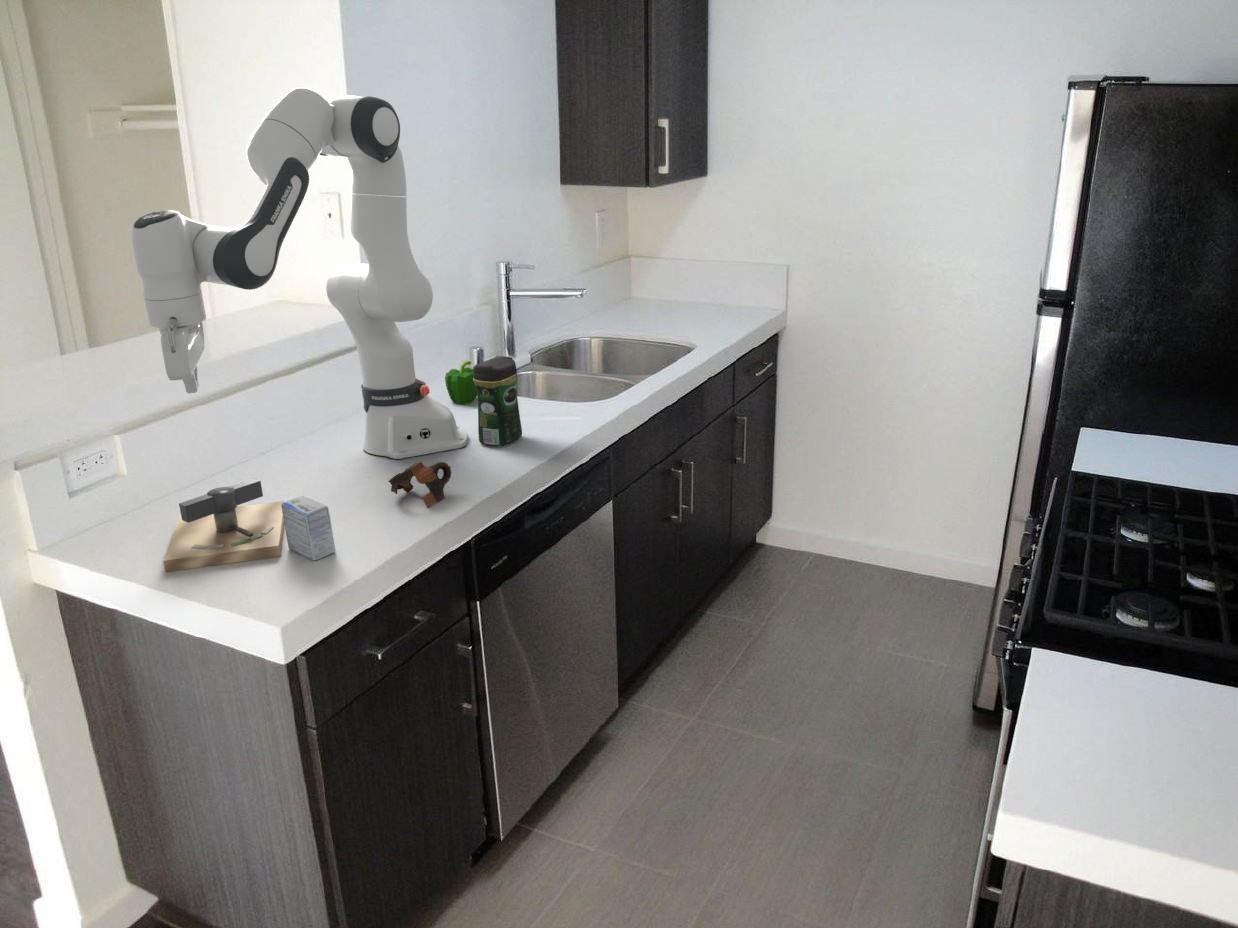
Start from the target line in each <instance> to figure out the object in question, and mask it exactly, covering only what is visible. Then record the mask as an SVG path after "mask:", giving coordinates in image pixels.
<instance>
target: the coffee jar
mask: <svg viewBox="0 0 1238 928" xmlns="http://www.w3.org/2000/svg"><path fill="white" fill-rule="evenodd" d="M472 369H473V380H474V383H475V386H476V390H477V397H476V399H477V417H478V418H477V420H478V421H477V423H478V425H477V428H478V429H477V430H478V433H477V434H478V442H479V443H480V444H482V445H483V446H485V447H490V448H494V447H500V448H501V447H506V446H509V445H511V444H513V443H515V442H516V441H518V440H520V439H521V438H522V436H523V428H522V422H521V416H520V409H519V401H518V391H517V379H518V369H517V365H516V361H515V360H514V359H513V358H512V357H511V356H504V355H496V356H495V357H492V358H489V359H487V360H485V361H483V362H479V363H476V364H475V365H474V366H473V367H472Z"/></svg>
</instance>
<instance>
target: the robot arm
mask: <svg viewBox="0 0 1238 928" xmlns="http://www.w3.org/2000/svg"><path fill="white" fill-rule="evenodd" d="M400 125H401V124H400V119H399V117H398V115H397V112H396V110H395V108H394V107H393V106H392V104H391V103H389V102H388V101H387V100H384V99H382V98H379V97H375V96H364V97H363V96H357V95H341V96H337V97H336V96H335V97H329V98H325V97H324V96H323V95H322V94H321V93H319V92H318V91H316V90H314V89H312V88H308V87H303V86H301V87H294V88H293V89H291V90H290V91H288V92H287V93H286V94H284V96H282V97H281V98H280V99H278V101H277V102H276V103H275V104H274V105H273V107H271V109H270V110H269V111H268V112H267V113H266V114H265V116H264V117H263V119H262V120H261V121H260V123H259V124H258V125H257V127H256V128H255V130H254V131H253V132H252V133H251V136H250V138H249V140H248V143H247V146H246V149H245V153H246V154H245V155H246V159H247V162H248V166H249V167H250V170H251V171H252V172H253V174H254V175H255V176H256V177H257V178H258V179H259V180H260V181H261V182H262V183H263V184H264V185H266V187H265V189H264V192H263V193H262V195H261V197H260V199H259V201H258V203H257V205H256V207H255V209H254V211H253V212H252V215H251V217H250V219H248V220H247V221H246V222H244V223H242V224H239V225H237V226H233V227H232V226H221V225H210V224H208V223H203V222H199V221H195V220H194V219H191V218H189V217H186V216H184V215H183V214H181V213H180V212H179V211H178V210H172V209H166V210H165V209H164V210H160V211H159V210H158V211H153V212H149V213H147V214H145V215H142V216H140V217H138V219H137V220H136V221H135V222H134V224H133V225H132V226H133V227H132V231H131V232H132V235H131V237H132V248H133V254H134V258H135V264H136V265H135V266H136V268H137V272H138V274H139V276H140V278H141V280H142V284H143V301H144V303H145V309H146V314H147V317H148V318H147V319H148V322H149V325H150V327H152V328H156V329H157V328H158V329H159V334H160V345H161V352H162V357H163V363H164V366H165V372H166V376H167V378H168V380H169V381H182V382H183V384H184V388H185V392H186V393H187V394H195V393H197V392H198V390H199V388H200V383H199V382H200V381H199V377H198V376H199V375H198V363H199V361H200V359H201V357H202V354H203V352H204V350H205V336H204V334H205V333H204V326H203V325H204V324H203V322H204V321H206V319H207V315H206V310H205V304H204V300H203V295H202V290H201V284H202V283H212V284H217V285H225V286H226V285H227V286H231V287H235V288H239V289H243V290H246V291H247V290H249V291H250V290H256V289H259V288H261V287H263V286H264V285H265V284H267V283H268V281H270V279H271V278H272V276H273V275H274V272H275V270H276V267H277V265H278V259H279V256H280V252H281V247H282V245H283V243H284V240H285V238H286V236H287V234H288V232H289V230H290V228H291V226H292V224H293V222H294V219H295V218H296V216H297V213H298V212H299V210H300V207H301V205H302V203H303V201H304V198H305V197H306V194H307V191H308V189H309V185H310V184H309V183H310V175H309V173H310V171H311V168H312V167H313V165H314V163H315V162H316V161H317V159H318V157H320V156H322V157H323V156H324V157H326V156H331V157H337V158H338V157H339V158H347V160H348V162H349V164H350V169H351V171H350V172H351V173H350V188H349V189H350V190H349V191H350V198H349V199H350V200H349V201H350V204H349V205H350V232H351V235H352V237H353V239H355V241H356V242H358V243H359V245H360V246H361V248H362V249H363V252H364V254H365V257H366V260H367V263H360V262H356V263H349V264H344V265H341V266H338V267H336V268H335V269H333V270H332V272H331V273H330V274H329V276H328V279H327V281H326V294H327V296H326V297H327V299H328V301H329V302H330V304H331V305H332V306H333V307H334V308H335V309H336V310H337V311H338V312H339V314H340V315H341V316H342V318H343V319H344V321H345V323H346V325H347V327H348V329H349V332H350V334H351V335H352V338H353V340H354V341H353V342H354V343H355V346H356V349H357V350H356V351H357V353H358V357H359V358H358V359H359V366H360V371H361V380H362V384H361V386H360V388H361V390H360V391H361V400H362V401H361V402H362V407H363V410H364V412H365V432H364V441H363V445H362V446H363V447H362V448H363V450H364V451H365V452H366V453H368V454H371V455H376V456H382V457H388V458H391V459H395V460H400V459H407V458H411V457H412V458H413V457H416V456H423V455H428V454H433V453H438V452H443V451H445V452H446V451H450V450H454V449H455V450H456V449H461V448H463V447H465V446H466V445H467V444H468V443H469V437H468V433H467V431H466V429H465V428H463V427H462V426H460V425H457V421H456V419H455V416H454V414H453V412H452V411H451V410H450V408H448V407H447V406H446V405H444V404H442V403H440V402H439V401H437V400H436V399H434V398H432V397H431V396H429V394H430V393H431V391H430V388H429V386H428V385H427V383H426V382H425V381H424V380H423V379H422V378H420V379H419V378H416V370H415V363H414V360H415V359H414V353H413V352H414V351H413V346H412V343H410V341H409V340H408V338H407V337H406V336H405V335H404V334H402V333H403V332H401V331H400V329H399V327H398V325H397V324H396V323H404V322H406V323H407V322H412V321H419V320H420V319H422V318H424V317H426V315H428V313H429V311H430V310H431V307H432V304H433V300H434V299H433V298H434V294H433V288H432V285H431V283H430V281H429V279H428V278H427V277H426V276H425V274H423V273H422V271H421V269H420V268H419V267H418V264H417V263H416V260H415V258H414V255H413V252H412V249H411V245H410V242H409V241H410V240H409V236H408V235H409V234H408V216H407V215H408V213H407V206H408V205H407V179H406V170H405V162H404V157H403V153H402V150H401V148H400V147H399V142H400V138H401V126H400Z"/></svg>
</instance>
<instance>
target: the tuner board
mask: <svg viewBox="0 0 1238 928" xmlns="http://www.w3.org/2000/svg"><path fill="white" fill-rule="evenodd" d="M284 502H285V500H281V501H272V502H265V503H257V504H249V505H248V504H247V505H238V506H237V507H236V508H235V510H236V516H237V521H238V527H240V528H243V529H245V530H247V531H249V532H251V533H253V536H252V537H248V536H246V535H244V534H241V533H239V532H237V531H235V530H233V531H229V532H218V531H217V530H216V525H215V520H214V515H213V514H212V515H209V516H206V517H203V518H200V519H198V520H195V521H192V522H189V523H187V522H185V521H183V520H182V517H181V513H180V514H179V516H178V519H177V521H176V525H175V528H174V530H173V532H172V536H171V539H170V541H169V543H168V546H167V549H166V553H165V555H164V558H163V560H162V561H163V566H164V570H165V573H167V572H174V571H180V570H181V571H182V570H190V569H197V568H203V567H211V566H218V565H219V566H220V565H226V564H233V563H240V562H241V563H242V562H249V561H254V560H255V561H256V560H262V559H272V558H277V557H278V558H279V557H281V555H282V548H283V538H284V532H285V531H284V530H285V525H284V519H283V513H282V507H281V504H282V503H284Z"/></svg>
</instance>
